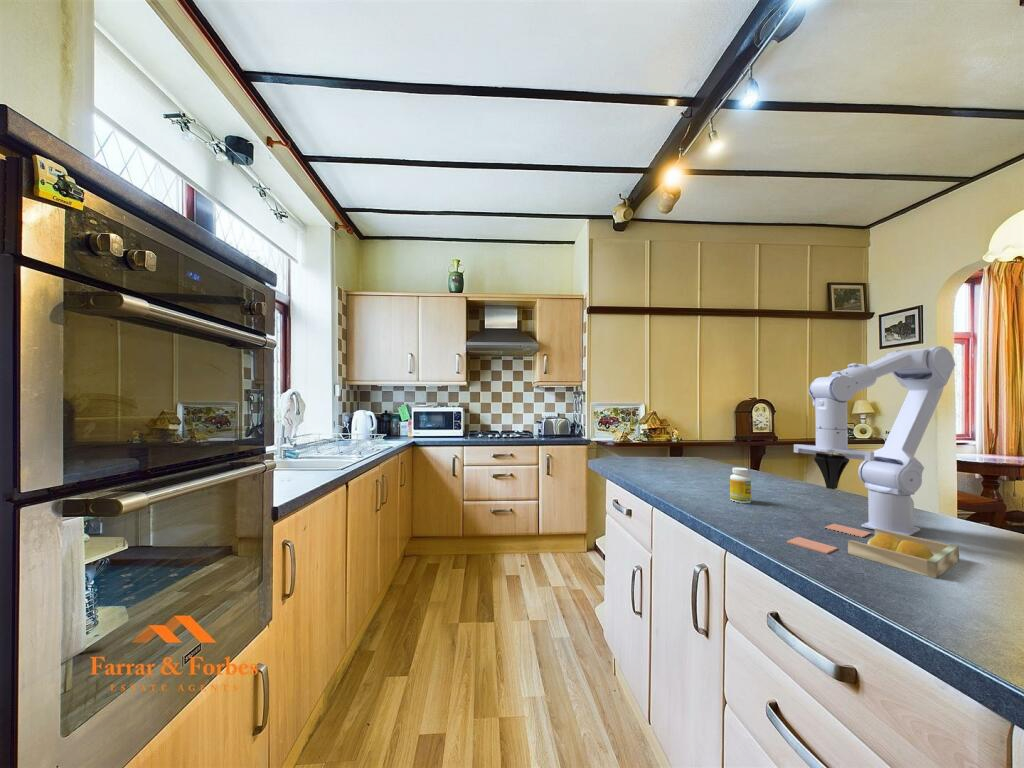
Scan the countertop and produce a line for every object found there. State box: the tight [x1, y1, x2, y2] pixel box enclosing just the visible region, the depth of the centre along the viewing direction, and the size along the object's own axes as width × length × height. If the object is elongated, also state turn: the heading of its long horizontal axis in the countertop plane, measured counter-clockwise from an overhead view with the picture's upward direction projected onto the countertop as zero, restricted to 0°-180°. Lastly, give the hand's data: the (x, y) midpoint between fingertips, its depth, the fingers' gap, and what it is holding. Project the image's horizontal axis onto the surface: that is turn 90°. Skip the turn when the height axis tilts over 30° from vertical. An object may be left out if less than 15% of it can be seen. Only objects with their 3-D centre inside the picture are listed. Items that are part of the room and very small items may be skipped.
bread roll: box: [866, 534, 934, 560], centre depth 76 cm, size 8×9×4 cm
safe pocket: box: [847, 528, 960, 579], centre depth 76 cm, size 15×12×3 cm
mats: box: [786, 523, 872, 555], centre depth 86 cm, size 23×7×1 cm, turn 121°
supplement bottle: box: [729, 466, 752, 504], centre depth 115 cm, size 5×5×10 cm
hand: (831, 488), depth 90 cm, fingers closed
